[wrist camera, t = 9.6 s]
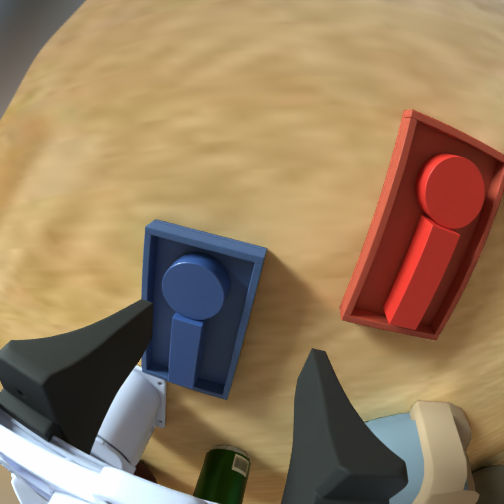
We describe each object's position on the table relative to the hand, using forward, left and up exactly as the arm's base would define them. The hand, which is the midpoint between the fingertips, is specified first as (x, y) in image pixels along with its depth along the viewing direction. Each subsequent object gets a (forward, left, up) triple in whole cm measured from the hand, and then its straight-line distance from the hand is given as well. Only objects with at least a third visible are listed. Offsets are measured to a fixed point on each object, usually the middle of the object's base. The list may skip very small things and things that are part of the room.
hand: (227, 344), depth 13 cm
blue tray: (-6, +3, -9) cm, 11 cm away
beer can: (-26, -3, -9) cm, 27 cm away
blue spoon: (-5, +3, -8) cm, 11 cm away
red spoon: (+5, -11, -8) cm, 14 cm away
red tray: (+5, -11, -9) cm, 15 cm away
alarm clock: (-20, -21, -9) cm, 30 cm away
